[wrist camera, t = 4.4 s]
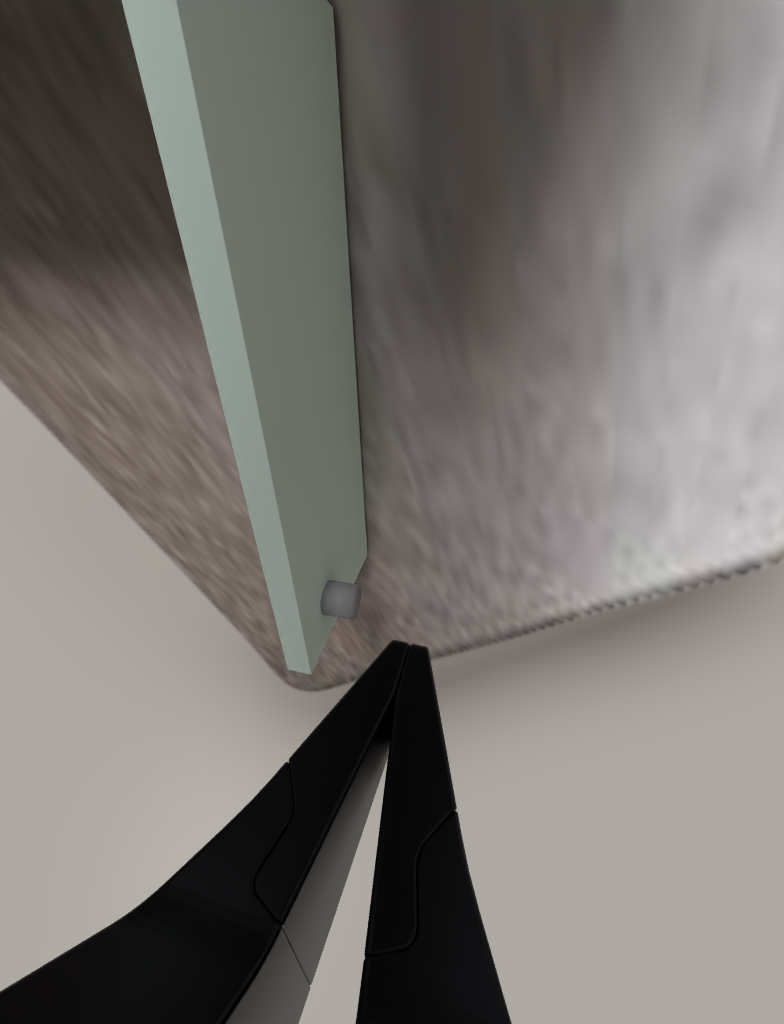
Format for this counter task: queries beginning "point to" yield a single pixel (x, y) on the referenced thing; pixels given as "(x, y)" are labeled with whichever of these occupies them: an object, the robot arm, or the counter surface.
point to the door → (269, 277)
